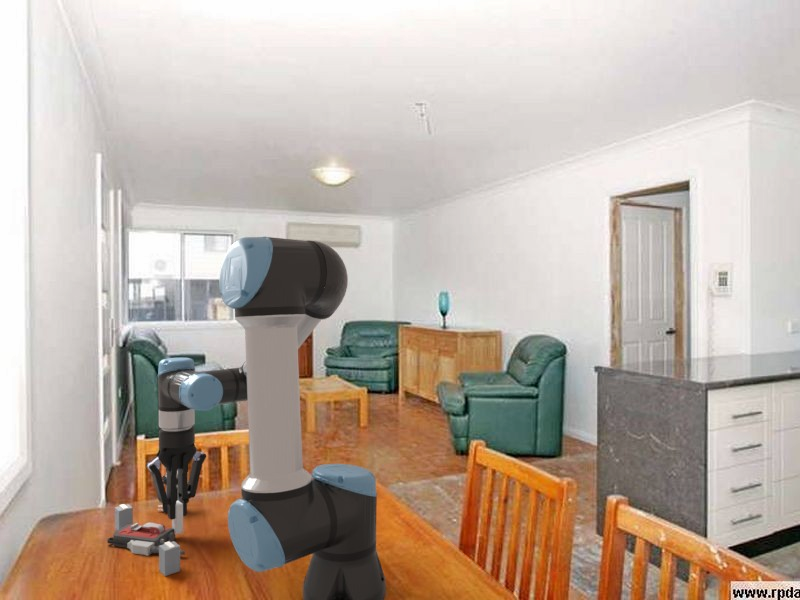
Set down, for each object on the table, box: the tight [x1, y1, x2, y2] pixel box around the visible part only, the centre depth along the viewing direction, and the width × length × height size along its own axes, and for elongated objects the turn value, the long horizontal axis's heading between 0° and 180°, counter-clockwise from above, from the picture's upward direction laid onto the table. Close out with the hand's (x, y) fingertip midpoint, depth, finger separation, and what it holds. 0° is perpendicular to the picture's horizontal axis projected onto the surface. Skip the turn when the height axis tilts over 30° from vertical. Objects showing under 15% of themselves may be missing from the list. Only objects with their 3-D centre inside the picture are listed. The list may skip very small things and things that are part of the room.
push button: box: [157, 470, 179, 514], centre depth 141 cm, size 7×5×10 cm
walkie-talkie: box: [106, 522, 186, 557], centre depth 122 cm, size 9×4×20 cm
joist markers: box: [114, 503, 181, 577], centre depth 121 cm, size 30×3×5 cm, turn 44°
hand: (177, 531), depth 126 cm, fingers closed
